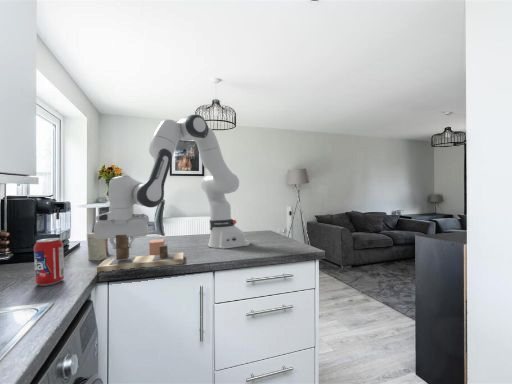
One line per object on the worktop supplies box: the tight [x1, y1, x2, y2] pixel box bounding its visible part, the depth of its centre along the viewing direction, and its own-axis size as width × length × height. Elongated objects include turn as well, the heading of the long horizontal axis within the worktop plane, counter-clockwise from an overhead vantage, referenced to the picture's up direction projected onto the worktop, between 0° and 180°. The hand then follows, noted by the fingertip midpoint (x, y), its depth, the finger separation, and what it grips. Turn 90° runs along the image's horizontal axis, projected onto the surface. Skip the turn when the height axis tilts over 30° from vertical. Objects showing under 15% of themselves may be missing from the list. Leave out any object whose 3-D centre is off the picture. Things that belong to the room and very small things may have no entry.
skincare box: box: [86, 232, 107, 262], centre depth 121 cm, size 6×4×12 cm
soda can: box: [33, 237, 65, 287], centre depth 91 cm, size 8×8×15 cm
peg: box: [115, 235, 130, 260], centre depth 109 cm, size 4×4×10 cm
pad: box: [109, 256, 136, 265], centre depth 110 cm, size 8×9×1 cm
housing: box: [148, 238, 165, 255], centre depth 125 cm, size 6×8×7 cm
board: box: [96, 244, 184, 273], centre depth 112 cm, size 32×12×7 cm, turn 105°
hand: (122, 248), depth 109 cm, fingers closed on peg, 4 cm apart
